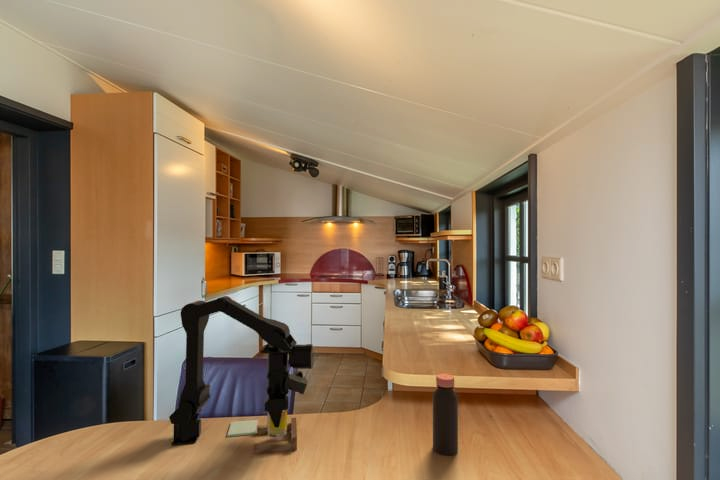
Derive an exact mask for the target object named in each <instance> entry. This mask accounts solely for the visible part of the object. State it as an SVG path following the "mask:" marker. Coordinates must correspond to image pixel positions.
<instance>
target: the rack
mask: <svg viewBox="0 0 720 480" xmlns="http://www.w3.org/2000/svg"><path fill="white" fill-rule="evenodd" d="M290 419H291V420H290V422H287V433H291V434H290V438H291V439H290V440H284V441H283V440H281V441H273V442H272V441H271V442H260V443H254V444H253V455H262V454H271V453H272V454H273V453H281V452H282V453H283V452H292V451H297V450H298V433H297V432H298V428H297V417H291V418H290ZM256 435H257V436H261V435H262V436H263V435H268V434H267V424H263V425H262V424H261V425H257V428H256Z"/></svg>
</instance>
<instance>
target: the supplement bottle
mask: <svg viewBox="0 0 720 480" xmlns="http://www.w3.org/2000/svg"><path fill="white" fill-rule="evenodd" d="M287 423H288V409H287V410H283V411H282V415H281V420H280V424H279V427H275V426H274V424H273V422H272V420H271V417H270V415H269V413H268V412H267V423H266V425H267V434H266V435H267V437H269V438H271V439H282V438H283V437H285V436H286V435H287V433H288V432H287Z"/></svg>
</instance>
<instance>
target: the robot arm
mask: <svg viewBox="0 0 720 480" xmlns="http://www.w3.org/2000/svg"><path fill="white" fill-rule="evenodd" d="M218 312H221V313H223V314H225V315H226V316H228V317H230V318H231V319H233V320H236V321H237V322H239V323H241V324H242V325H243V326H246V327H248V328H249V329H250V330H251V329H252V330H253V331H254V332H256V334H257V335H259V337H260V338H261V339H262V340H263V341H264V342H265V343H266V344H265V346H264V347H263V348H262V349H261V350H260V353H261V354H267V374H266V378H267V386H266V387H267V388H266V393H267V396H266V398H265V400H264V411H265V412H267V414H268V413H269V415H270V417H271V420H272V422H273V424H274V426H275V427H279V424H280V420H281V415H282V411H283V410H287V411H288V410H289V396H288V394H289V393H290V392H289V390H290V391H291V392H296V393H298V394H300V395H304V394H305V392H306V390H307V387H308V379H307V378H306V376H304V372H303V371H300V370H299V369H301V370H312V369H314V366H315V365H314V363H315V353H314V348H313V347H314V345H313V344H311V343H308V344H297V341H296V339H295V338H294V337H293V336H292V334H291V330H290V328H289V327H290V326H288V324H286V323H285V322H282V321H280V320H276V319H271V318H268V317H264V316H262V315H261V314H259V313H257V312H255V311H253V310H251V309H250V308H248V307H246V306H245V305H242V304H241V303H239V302H237V301H236V300H234V299H232V298H231V297H230V296H228V295H223V296H221V297H218V298H216V299H212V300H209V301H204V300H197V301H193V302H190V303H187V304H185V305H184V306H183V307H182V308H181V310H180V319H181V326H182V327H183V330H184V332H185V333H186V334H185V335H186V339H185V340H186V342H185V376H184V377H185V382H184V385H183V387H182V391H181V392H180V395H179V400H178V406H177V408H176V410H175V411H173V412H172V413H171V414H170V415H169V417H168V418H169V422H170V423H171V424H172V425H173V439H172V441H171V446H177V445H187V444H195V443H196V442H197V441H198V439H199V438H200V436H201V434H202V419H201V418H200V413H201V411H202V409H203V408H204V406H205V405H207V403H208V402H209V399H210V398H211V395H210V390H211V385H210V384H209V383H208V384H206V383H205V381H204V350H205V349H204V347H205V346H204V343H205V341H204V340H205V339H204V338H205V331H206V327H207V325H208V323H209V319H210V315H212V314H215V313H218ZM289 367H291V368H292V369H294V370H295V369H296V370H297V369H298V370H297V371H296V373H290V370H289Z"/></svg>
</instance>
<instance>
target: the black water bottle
mask: <svg viewBox="0 0 720 480" xmlns="http://www.w3.org/2000/svg"><path fill="white" fill-rule="evenodd" d="M435 381H436V382H435V383H436V389H435V390H434V391H433V393H432V447H433V450H434V451H435V452H436V453H438V454H440V455H442V456H443V455H444V456H453V455H455V454H456V453H458V450H459V399H458V398H459V397H458V394H457V392H456V391H455V390H454V389H455V376H453V375H452V374H449V373H438V374H437V375H436V377H435Z"/></svg>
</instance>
